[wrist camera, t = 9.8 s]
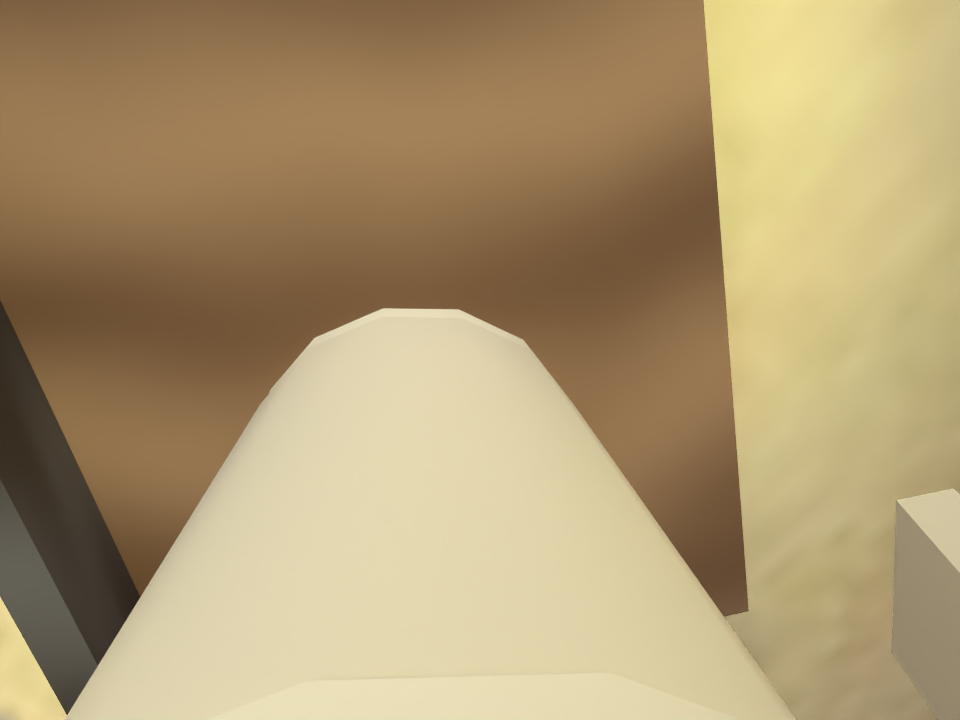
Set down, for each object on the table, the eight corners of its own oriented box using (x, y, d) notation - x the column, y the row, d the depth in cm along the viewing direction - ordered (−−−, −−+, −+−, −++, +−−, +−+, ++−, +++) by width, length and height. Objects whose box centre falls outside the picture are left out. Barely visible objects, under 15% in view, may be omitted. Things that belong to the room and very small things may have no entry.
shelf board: (-297, -278, 13) (-554, -362, 9) (635, -482, 13) (725, -642, 9) (168, 686, 22) (123, 829, 18) (726, 569, 22) (790, 690, 18)
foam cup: (662, 587, 20) (1048, 1525, 8) (259, 667, 20) (59, 1720, 8) (617, 177, 16) (1281, 877, 4) (108, 278, 16) (-765, 1280, 4)
